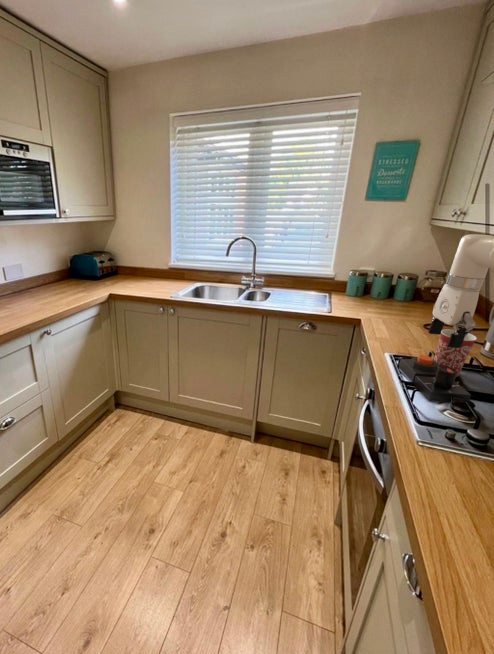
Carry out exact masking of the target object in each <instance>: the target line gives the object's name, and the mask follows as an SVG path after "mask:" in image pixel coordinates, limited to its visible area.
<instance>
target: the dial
mask: <svg viewBox="0 0 494 654" xmlns="http://www.w3.org/2000/svg"><path fill="white" fill-rule="evenodd" d="M456 375H457V370H455V369H453V368H451V367H447V366H439V367H438V370H437V372H436V375H435V378H434V381H433V383H434V384H435V385H436V386H438V387H441V388H445V389H450V388H452V386H453V383H454V381H455V380H456V378H457V377H456Z"/></svg>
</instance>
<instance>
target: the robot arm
mask: <svg viewBox="0 0 494 654" xmlns="http://www.w3.org/2000/svg"><path fill="white" fill-rule="evenodd" d="M489 269H491V270H492V269H493V270H494V235H490V234H479V233H478V234H476V233H471V234H466V235H463V236H462V237H461V238H460V241H459V243H458V247H457V250H456V251H455V255H454V258H453V262H452V264H451V267H450V270H449V273H448V276H447V279H446V281H445V283H444V285H443V286H442V288H441V290H440V292H439V294H438V297H437V299H436V301H435V303H433V305H432V309H433V310H432V313H431V314H432V317H431V323H430V326H429V329H428V334H430V335H441V331H442V330H443V328H444V325H448V326H452V330H453V331H454V333H452V334H451V336H450V339H449V342H448V344H447V346H448V347H450V348H460V347H461V345H462V343H463V340H464V338H465V336H466V335H468V333H469V334H471V332H472V330H473V329H474V328H475V327H476V325H477V324H476V322H475V320H474V318H473V317H474V315H475V311H476V308H477V306H478V301H479V295H480V291H481V289H482V287H483V284H484V281H485V278H486V276H487V273H488V271H489ZM459 327H460V328H459Z"/></svg>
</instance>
